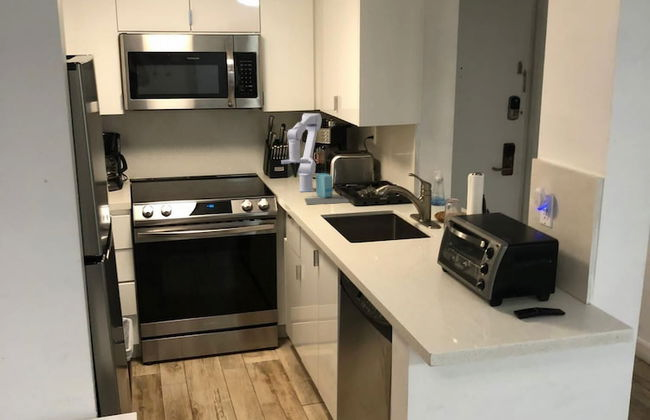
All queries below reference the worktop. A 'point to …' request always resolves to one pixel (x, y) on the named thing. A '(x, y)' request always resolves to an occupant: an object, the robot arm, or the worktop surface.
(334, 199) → the mat
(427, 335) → the worktop surface
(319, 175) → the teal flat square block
